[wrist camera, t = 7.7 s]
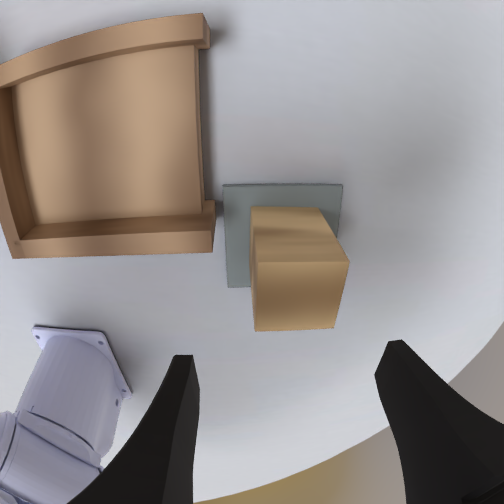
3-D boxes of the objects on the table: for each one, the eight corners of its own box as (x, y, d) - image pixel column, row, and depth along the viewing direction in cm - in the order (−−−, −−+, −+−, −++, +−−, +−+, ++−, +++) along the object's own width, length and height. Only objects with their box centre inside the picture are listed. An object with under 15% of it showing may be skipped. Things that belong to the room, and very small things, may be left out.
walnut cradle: (209, 28, 13) (202, 13, 10) (216, 218, 19) (212, 252, 15) (15, 71, 13) (-25, 77, 9) (41, 228, 18) (12, 258, 15)
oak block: (310, 264, 21) (333, 328, 15) (249, 264, 20) (254, 331, 15) (317, 207, 18) (349, 261, 13) (250, 206, 18) (258, 262, 13)
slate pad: (328, 279, 22) (329, 283, 21) (227, 284, 21) (227, 287, 21) (340, 184, 18) (342, 186, 18) (222, 185, 18) (222, 187, 18)
